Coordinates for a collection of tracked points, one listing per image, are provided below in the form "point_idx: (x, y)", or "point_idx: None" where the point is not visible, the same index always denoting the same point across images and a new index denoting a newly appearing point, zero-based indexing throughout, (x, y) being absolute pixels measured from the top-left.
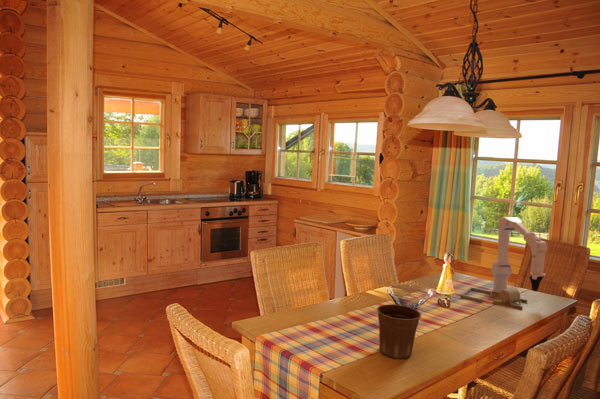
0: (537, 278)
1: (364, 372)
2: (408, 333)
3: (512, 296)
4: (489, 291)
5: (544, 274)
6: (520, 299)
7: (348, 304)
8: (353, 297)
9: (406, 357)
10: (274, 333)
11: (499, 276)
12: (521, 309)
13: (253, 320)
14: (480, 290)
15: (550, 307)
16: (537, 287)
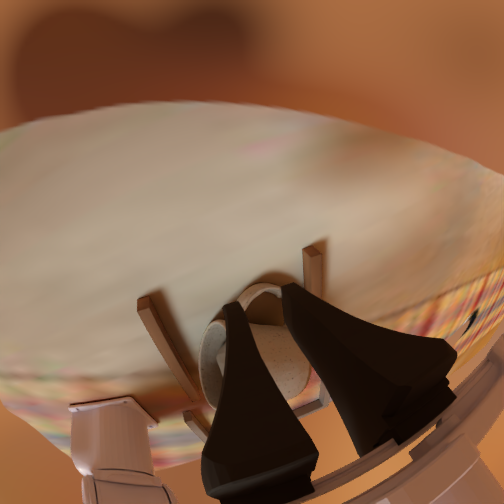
0: (446, 385)
1: None
2: None
3: (291, 346)
4: (194, 423)
5: (471, 463)
6: (163, 334)
7: None
8: None
9: None
10: (500, 319)
11: (155, 482)
12: (313, 248)
13: (484, 345)
14: (204, 432)
15: (80, 164)
16: (328, 305)
